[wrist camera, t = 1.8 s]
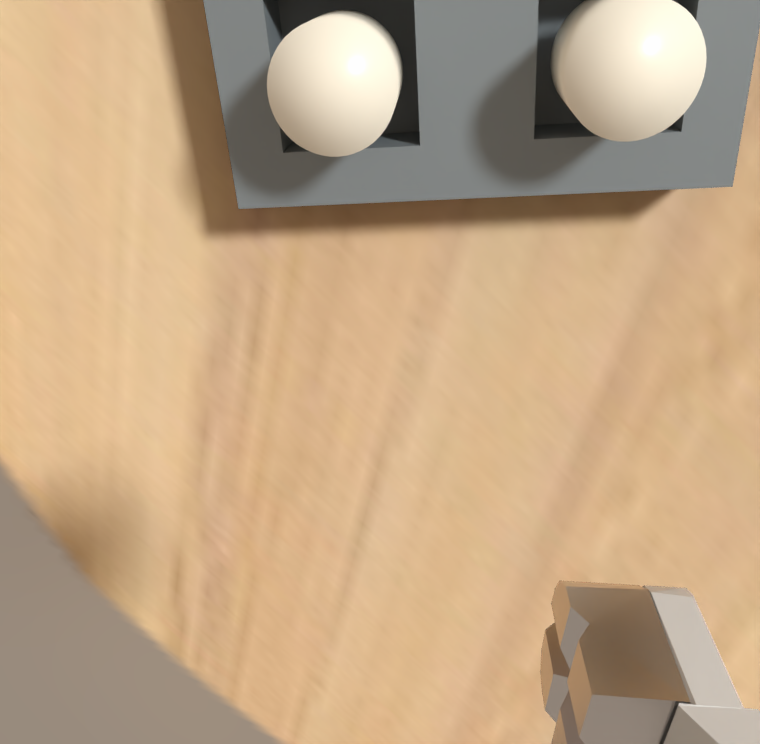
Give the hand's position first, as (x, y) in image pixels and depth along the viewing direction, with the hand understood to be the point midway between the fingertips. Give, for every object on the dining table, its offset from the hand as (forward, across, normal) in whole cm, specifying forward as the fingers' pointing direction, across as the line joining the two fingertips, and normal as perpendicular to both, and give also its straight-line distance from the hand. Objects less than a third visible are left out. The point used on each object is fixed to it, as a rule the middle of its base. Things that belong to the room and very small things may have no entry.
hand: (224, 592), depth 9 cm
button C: (+20, -9, -5) cm, 23 cm away
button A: (+21, 0, -4) cm, 21 cm away
